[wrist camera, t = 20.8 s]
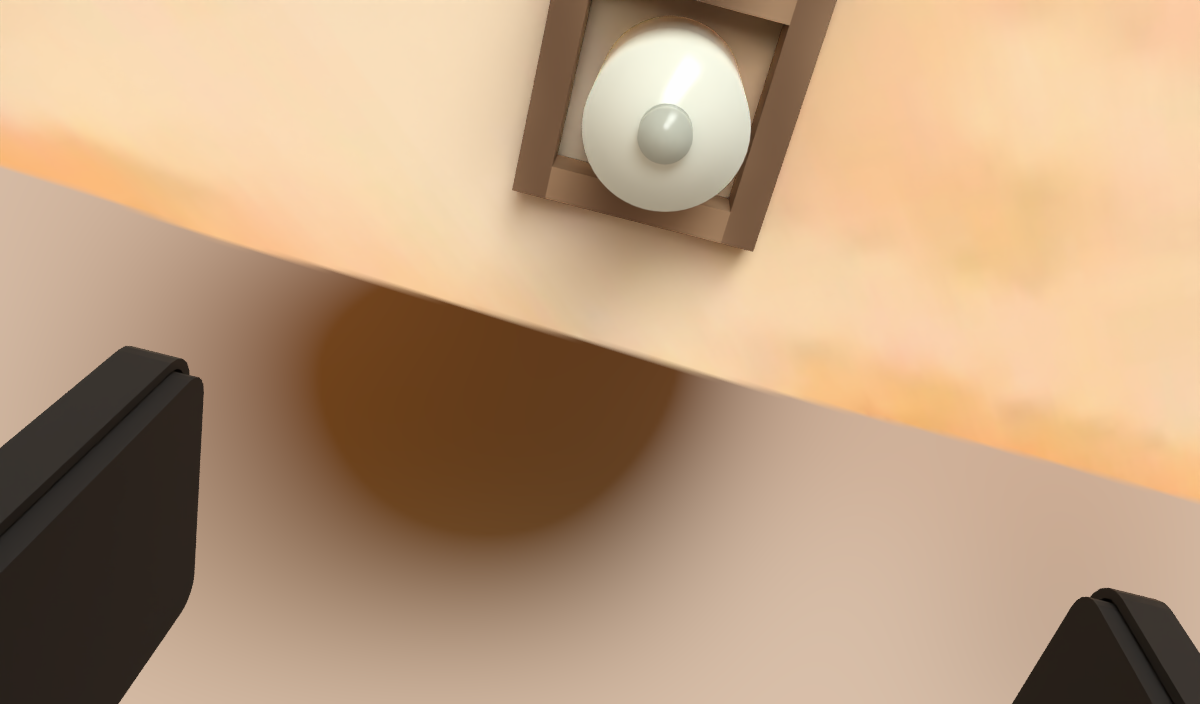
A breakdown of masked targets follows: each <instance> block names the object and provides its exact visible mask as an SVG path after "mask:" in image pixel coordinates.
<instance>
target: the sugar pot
mask: <svg viewBox="0 0 1200 704" xmlns="http://www.w3.org/2000/svg"><path fill="white" fill-rule="evenodd" d="M750 133H751V119H750V112H749V107H748V103H747V99H746V95H745V92H744V88H743V84H742V80H741V76H740V72H739V69H738V65H737V62H736V60H735V58H734V55H733V53H732V51H731V50H730V48H729V47H728V45H727V44H726V43H725V41H724V40H723V39H722V38H721V37H720V36H719V35H718V34H717V33H716V32H715V31H714V30H712V29H711V28H709V27H708V26H706V25H704V24H702V23H700V22H698V21H696V20H693V19H690V18H685V17H680V16H662V17H657V18H652V19H649V20H646V21H644V22H641V23H639V24H637V25H636V26H634V27H632V28H631V29H629V30H628V31H627V32H625V33H624V34H623V35H622V36H621V37H620V38H619V39H618V40H617V41H616V43H615V44H614V45H613V46H612V48H611V49H610V51H609V53H608V54H607V56H606V58H605V61H604V63H603V65H602V67H601V69H600V72H599V74H598V76H597V78H596V80H595V82H594V85H593V87H592V89H591V91H590V93H589V96H588V98H587V101H586V104H585V107H584V112H583V118H582V139H583V145H584V149H585V153H586V156H587V159H588V161H589V164H590V165H591V167H592V169H593V171H594V173H595V174H596V176H597V177H598V178H599V180H600V181H601V182H602V183H603V184H604V185H605V187H606V188H607V189H608V190H610V191H611V192H612V193H613V194H614V195H616V196H617V197H619V198H620V199H622V200H623V201H625V202H627V203H629V204H631V205H633V206H636V207H639V208H642V209H646V210H651V211H660V212H670V211H679V210H685V209H688V208H692V207H695V206H697V205H700V204H702V203H704V202H706V201H708V200H709V199H711V198H712V197H714V196H715V195H717V194H718V193H719V192H720V191H722V190H723V189H724V188H725V187H726V186H727V185H728V184H729V183H730V182H731V180H732V179H733V178H734V176H735V175H736V174H737V172H738V170H739V169H740V167H741V165H742V163H743V161H744V158H745V156H746V153H747V150H748V146H749V141H750Z"/></svg>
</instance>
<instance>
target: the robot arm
mask: <svg viewBox="0 0 1200 704" xmlns="http://www.w3.org/2000/svg"><path fill="white" fill-rule="evenodd" d="M203 395H204V391H203V383H202V380H201V379H200V378H199V377H195V376H190V375H189V368H188V365H187V362H186V361H184V360H183V359H181V358H177V357H173V356H169V355H165V354H161V353H157V352H153V351H149V350H145V349H140V348H136V347H132V346H125V347H123V348H121V349H119V350H118V351H117V352H115V353H114V354H113V355H112V356H111V357H109V358H108V359H107V360H106V361H105V362H103V363H102V364H101V365H100V366H98V367H97V368H96V369H95V370H94V371H92V372H91V373H90V374H89V375H88V376H87V377H85V378H84V379H83V380H82V381H80V382H79V383H78V384H77V385H76V386H75V387H73V388H72V389H71V390H70V391H68V392H67V393H66V394H65V395H63V396H62V397H61V398H60V399H59V400H57V401H56V402H55V403H54V404H53V405H51V406H50V407H49V408H48V409H47V410H45V411H44V412H43V413H42V414H41V415H39V416H38V417H37V418H36V419H35V420H33V421H32V422H31V423H30V424H29V425H27V426H26V427H25V428H24V429H23V430H21V431H20V432H19V433H18V434H17V435H15V436H14V437H13V438H12V439H10V440H9V441H8V442H7V443H6V444H5V445H3V446H2V447H1V448H0V704H118V703H119V702H120V701H121V699H122V698H123V696H124V695H125V693H126V692H127V690H128V689H129V688H130V686H131V684H132V683H133V682H134V680H135V679H136V677H137V676H138V674H139V673H140V672H141V670H142V669H143V667H144V666H145V664H146V663H147V661H148V660H149V658H150V657H151V656H152V654H153V653H154V651H155V650H156V648H157V647H158V646H159V644H160V642H161V641H162V640H163V638H164V637H165V635H166V634H167V632H168V631H169V630H170V628H171V627H172V625H173V623H174V622H175V621H176V619H177V618H178V616H179V615H180V613H181V612H182V610H183V608H184V607H185V605H186V602H187V600H188V598H189V595H190V592H191V589H192V585H193V580H194V570H195V569H194V568H195V549H196V529H197V511H198V492H199V473H200V471H199V470H200V453H201V434H202V433H201V432H202V414H203ZM1012 704H1200V653H1199V652H1198V650H1197V649H1196V647H1195V646H1194V644H1193V643H1192V641H1191V640H1190V638H1189V636H1188V635H1187V633H1186V632H1185V630H1184V629H1183V627H1182V626H1181V624H1180V623H1179V621H1178V620H1177V618H1176V617H1175V615H1174V614H1173V612H1172V611H1171V609H1170V608H1169V607H1168V606H1167V605H1166V604H1165V603H1163V602H1161V601H1158V600H1156V599H1151V598H1147V597H1144V596H1140V595H1135V594H1131V593H1127V592H1123V591H1119V590H1115V589H1111V588H1102V589H1099V590H1098V591H1096V592H1095V593H1093V594H1092V596H1091V597H1081V598H1080V599H1078V600H1077V601H1076V602H1075V603H1074V604H1073V605H1072V607H1071V608H1070V610H1069V612H1068V613H1067V615H1066V617H1065V618H1064V620H1063V621H1062V623H1061V625H1060V626H1059V628H1058V630H1057V631H1056V633H1055V635H1054V636H1053V638H1052V639H1051V641H1050V643H1049V645H1048V646H1047V648H1046V649H1045V651H1044V652H1043V654H1042V656H1041V657H1040V659H1039V661H1038V662H1037V664H1036V666H1035V667H1034V669H1033V671H1032V672H1031V674H1030V675H1029V677H1028V679H1027V680H1026V682H1025V684H1024V685H1023V687H1022V688H1021V690H1020V692H1019V693H1018V695H1017V697H1016V698H1015V700H1014V701H1013V703H1012Z"/></svg>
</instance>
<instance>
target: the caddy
mask: <svg viewBox="0 0 1200 704" xmlns="http://www.w3.org/2000/svg"><path fill="white" fill-rule="evenodd" d="M591 1H592V0H551V1H550V6H549V11H548V16H547V21H546V26H545V31H544V36H543V41H542V46H541V51H540V56H539V61H538V65H537V70H536V75H535V80H534V85H533V90H532V95H531V100H530V105H529V110H528V115H527V120H526V125H525V130H524V135H523V140H522V145H521V150H520V155H519V160H518V165H517V169H516V174H515V179H514V184H513V189H512V190H514V191H518V192H522V193H526V194H530V195H534V196H538V197H542V198H545V199H549V200H553V201H557V202H561V203H565V204H569V205H573V206H577V207H581V208H585V209H588V210H592V211H596V212H600V213H604V214H608V215H612V216H616V217H620V218H624V219H628V220H631V221H635V222H639V223H643V224H647V225H651V226H655V227H659V228H663V229H667V230H671V231H674V232H678V233H682V234H686V235H690V236H694V237H698V238H702V239H706V240H710V241H714V242H717V243H721V244H725V245H729V246H733V247H737V248H741V249H745V250H749V251H753V250H754V247H755V244H756V241H757V238H758V235H759V232H760V229H761V226H762V223H763V220H764V217H765V214H766V211H767V208H768V205H769V202H770V199H771V196H772V193H773V190H774V187H775V184H776V181H777V178H778V175H779V172H780V169H781V166H782V163H783V160H784V157H785V154H786V151H787V148H788V145H789V142H790V139H791V136H792V133H793V130H794V127H795V124H796V121H797V118H798V115H799V112H800V109H801V106H802V103H803V100H804V97H805V94H806V91H807V88H808V85H809V82H810V79H811V76H812V73H813V70H814V67H815V64H816V61H817V58H818V55H819V52H820V49H821V46H822V43H823V40H824V37H825V34H826V31H827V28H828V25H829V22H830V19H831V16H832V13H833V10H834V7H835V4H836V1H837V0H695V1H699V2H703V3H707V4H710V5H714V6H718V7H722V8H726V9H729V10H733V11H737V12H741V13H745V14H748V15H752V16H756V17H760V18H763V19H767V20H771V21H775V22H779V23H782V24H783V27H782V30H781V33H780V37H779V40H778V43H777V46H776V49H775V53H774V56H773V59H772V62H771V65H770V69H769V72H768V75H767V78H766V81H765V85H764V88H763V91H762V94H761V97H760V101H759V104H758V107H757V110H756V113H755V117H754V120H753V123H752V126H751V133H750V141H749V146H748V150H747V153H746V156H745V158H744V161H743V163H742V165H741V167H740V169H739V170H738V172H737V174H736V177H735V181H734V184H733V187H732V190H731V193H730V197H729V199H728V198H724V197H720V196H716V195H715V196H714V197H712V198H711V199H709V200H708V201H706V202H704V203H702V204H700V205H697V206H695V207H692V208H688V209H685V210H679V211H670V212H660V211H651V210H646V209H642V208H639V207H636V206H633V205H631V204H629V203H627V202H625V201H623V200H622V199H620V198H619V197H617V196H616V195H614V194H613V193H612V192H611V191H610V190H608V189H607V188H606V187H605V185H604V184H603V183H602V182H601V181H600V180H599V178H598V177H597V176H596V174H595V173H594V171H593V169H592V167H591V165H590V164H589V163H588V162H584V161H580V160H576V159H573V158H569V157H565V156H561V155H558V151H559V146H560V142H561V137H562V132H563V128H564V123H565V119H566V114H567V110H568V105H569V101H570V96H571V92H572V87H573V83H574V78H575V74H576V69H577V65H578V60H579V55H580V51H581V46H582V42H583V37H584V33H585V28H586V24H587V19H588V15H589V10H590V6H591Z"/></svg>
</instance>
